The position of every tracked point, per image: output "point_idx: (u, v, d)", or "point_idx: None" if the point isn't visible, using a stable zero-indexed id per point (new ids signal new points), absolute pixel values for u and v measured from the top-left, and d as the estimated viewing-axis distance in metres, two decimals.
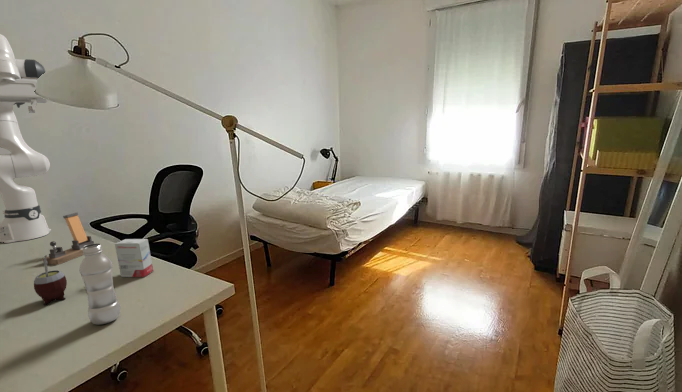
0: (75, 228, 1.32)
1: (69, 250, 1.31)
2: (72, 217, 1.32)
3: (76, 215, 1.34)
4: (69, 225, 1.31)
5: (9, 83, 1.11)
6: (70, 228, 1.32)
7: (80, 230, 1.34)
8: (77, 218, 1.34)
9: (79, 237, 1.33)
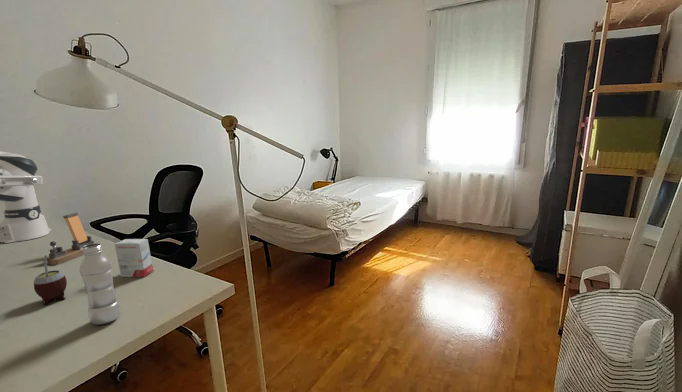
0: (75, 228, 1.32)
1: (69, 250, 1.31)
2: (72, 217, 1.32)
3: (76, 215, 1.34)
4: (69, 225, 1.31)
5: None
6: (70, 228, 1.32)
7: (80, 230, 1.34)
8: (77, 218, 1.34)
9: (79, 237, 1.33)
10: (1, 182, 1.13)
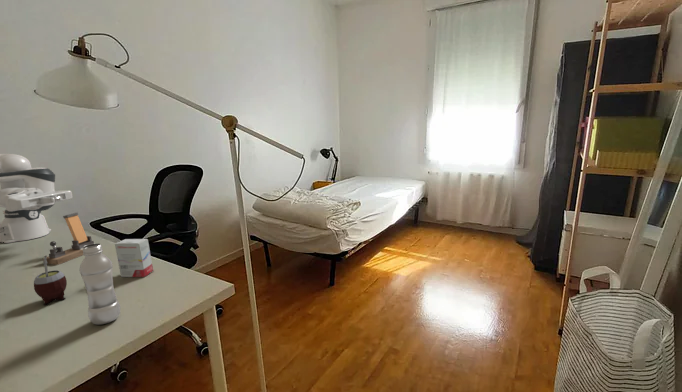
0: (75, 228, 1.32)
1: (69, 250, 1.31)
2: (72, 217, 1.32)
3: (76, 215, 1.34)
4: (69, 225, 1.31)
5: (40, 194, 1.34)
6: (70, 228, 1.32)
7: (80, 230, 1.34)
8: (77, 218, 1.34)
9: (79, 237, 1.33)
10: (54, 200, 1.30)
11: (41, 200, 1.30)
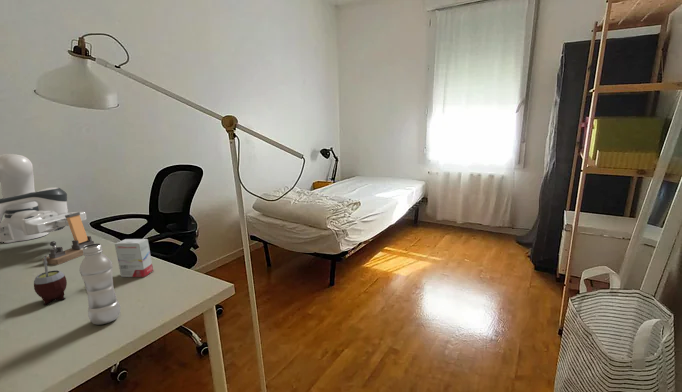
0: (76, 228, 1.32)
1: (69, 250, 1.31)
2: (74, 217, 1.32)
3: (78, 215, 1.34)
4: (70, 225, 1.31)
5: (55, 217, 1.36)
6: (71, 228, 1.31)
7: (81, 230, 1.34)
8: (79, 218, 1.34)
9: (80, 238, 1.33)
10: None
11: (57, 223, 1.32)
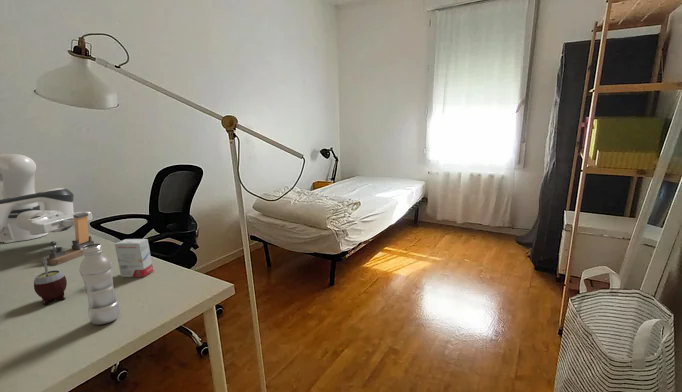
0: (81, 229, 1.32)
1: (69, 250, 1.31)
2: (82, 218, 1.31)
3: (86, 216, 1.33)
4: (76, 225, 1.30)
5: (61, 217, 1.35)
6: (76, 228, 1.31)
7: (85, 231, 1.34)
8: (86, 219, 1.33)
9: (81, 238, 1.33)
10: None
11: (63, 223, 1.31)
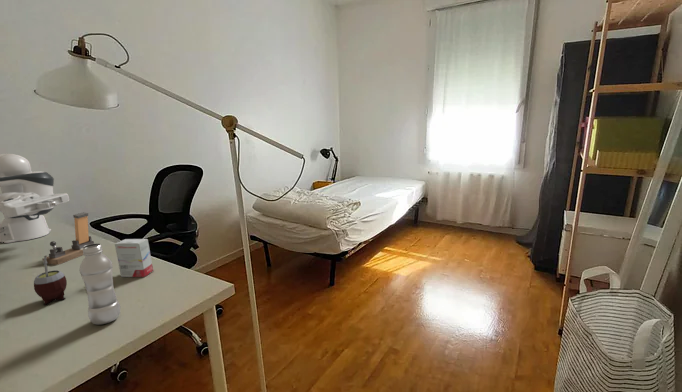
0: (81, 229, 1.32)
1: (69, 250, 1.31)
2: (82, 218, 1.31)
3: (86, 216, 1.33)
4: (76, 225, 1.30)
5: (36, 199, 1.33)
6: (76, 228, 1.31)
7: (85, 231, 1.34)
8: (86, 219, 1.33)
9: (82, 238, 1.33)
10: (49, 205, 1.29)
11: (37, 205, 1.28)
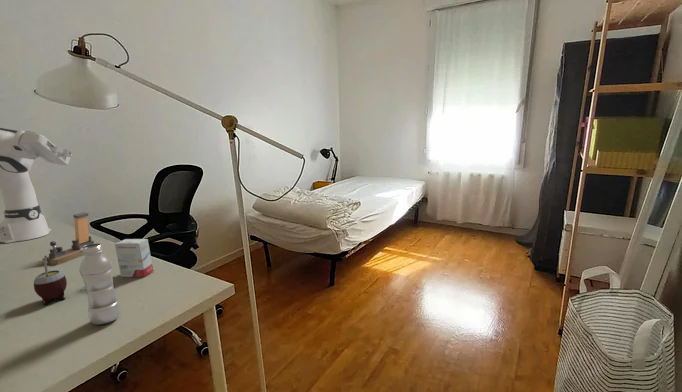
0: (81, 229, 1.32)
1: (69, 250, 1.31)
2: (82, 218, 1.31)
3: (86, 216, 1.33)
4: (76, 225, 1.30)
5: None
6: (76, 228, 1.31)
7: (85, 231, 1.34)
8: (86, 219, 1.33)
9: (82, 238, 1.33)
10: (68, 152, 1.30)
11: (53, 148, 1.28)
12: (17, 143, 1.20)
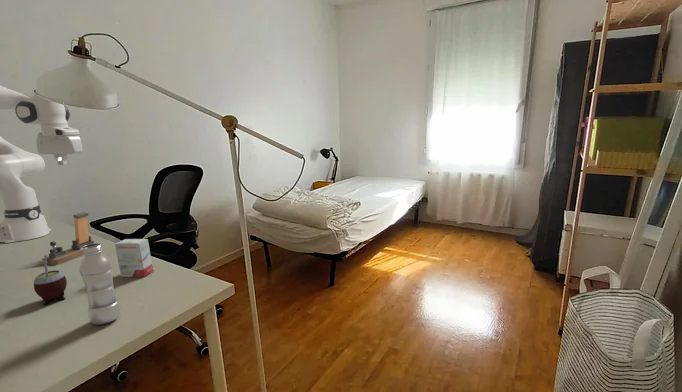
0: (81, 229, 1.32)
1: (69, 250, 1.31)
2: (82, 218, 1.31)
3: (86, 216, 1.33)
4: (76, 225, 1.30)
5: None
6: (76, 228, 1.31)
7: (85, 231, 1.34)
8: (86, 219, 1.33)
9: (82, 238, 1.33)
10: (64, 164, 1.41)
11: (65, 154, 1.40)
12: (66, 135, 1.35)
